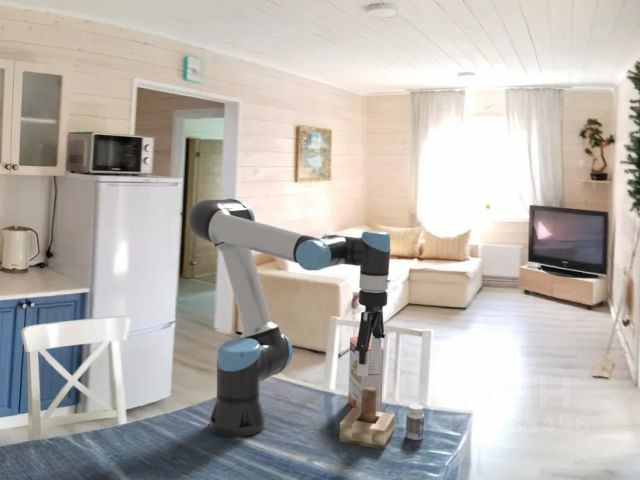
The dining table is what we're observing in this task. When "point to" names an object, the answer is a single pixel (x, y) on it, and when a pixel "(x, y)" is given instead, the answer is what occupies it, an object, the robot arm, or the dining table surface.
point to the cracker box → (360, 381)
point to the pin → (368, 405)
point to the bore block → (367, 429)
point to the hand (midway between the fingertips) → (369, 368)
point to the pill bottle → (415, 422)
